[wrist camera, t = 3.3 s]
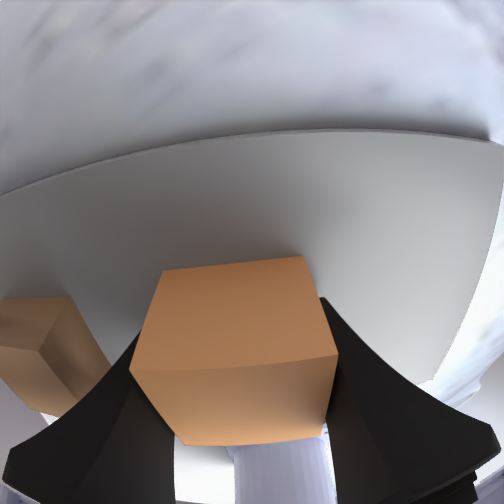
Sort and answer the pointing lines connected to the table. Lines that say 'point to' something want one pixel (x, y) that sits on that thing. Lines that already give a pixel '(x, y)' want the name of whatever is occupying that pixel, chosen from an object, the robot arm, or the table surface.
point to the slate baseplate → (270, 229)
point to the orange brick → (237, 353)
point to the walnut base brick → (48, 353)
